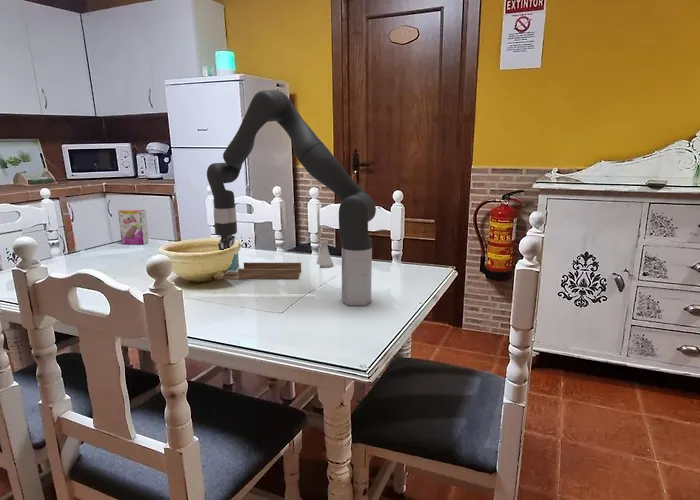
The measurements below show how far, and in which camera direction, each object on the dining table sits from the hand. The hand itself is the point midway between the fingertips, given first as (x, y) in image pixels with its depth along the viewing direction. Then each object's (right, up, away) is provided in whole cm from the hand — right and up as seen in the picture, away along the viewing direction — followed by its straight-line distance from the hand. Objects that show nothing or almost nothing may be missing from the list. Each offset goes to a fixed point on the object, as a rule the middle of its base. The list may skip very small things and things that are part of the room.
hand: (228, 267), depth 172 cm
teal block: (-1, -1, 0) cm, 1 cm away
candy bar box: (-59, +9, +56) cm, 82 cm away
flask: (+33, 0, +19) cm, 38 cm away
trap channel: (+10, -4, +1) cm, 11 cm away
